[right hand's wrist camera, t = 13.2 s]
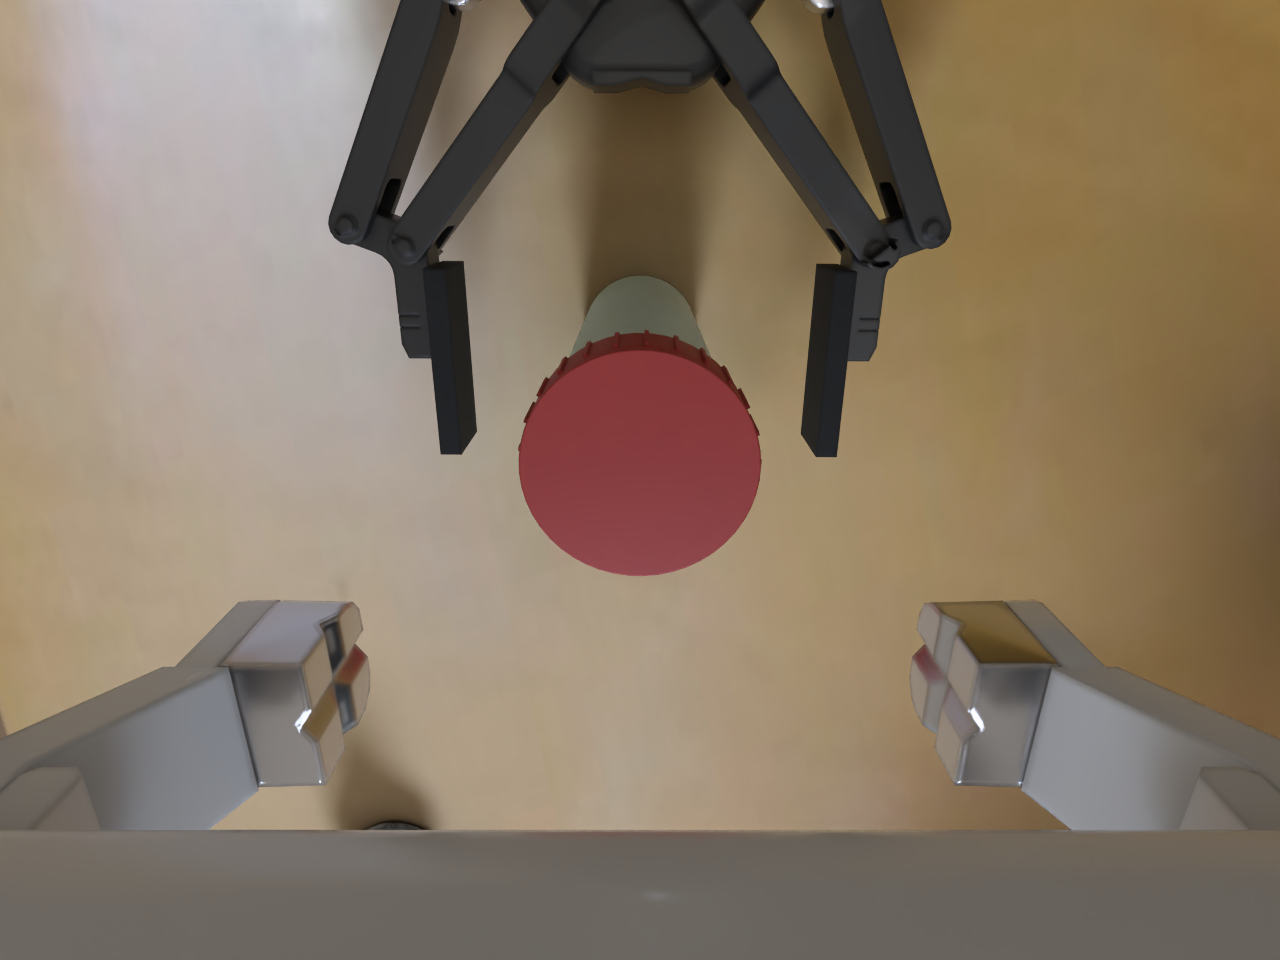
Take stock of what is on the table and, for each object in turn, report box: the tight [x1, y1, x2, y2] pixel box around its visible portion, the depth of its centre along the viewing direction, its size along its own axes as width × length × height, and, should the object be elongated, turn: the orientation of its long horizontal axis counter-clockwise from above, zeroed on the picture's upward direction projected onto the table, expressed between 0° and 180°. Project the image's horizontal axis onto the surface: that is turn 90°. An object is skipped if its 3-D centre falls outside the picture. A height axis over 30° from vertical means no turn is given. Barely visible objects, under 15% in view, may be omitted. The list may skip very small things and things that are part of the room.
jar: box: [570, 275, 710, 357], centre depth 25 cm, size 5×5×17 cm
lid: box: [518, 330, 762, 576], centre depth 18 cm, size 6×6×2 cm
